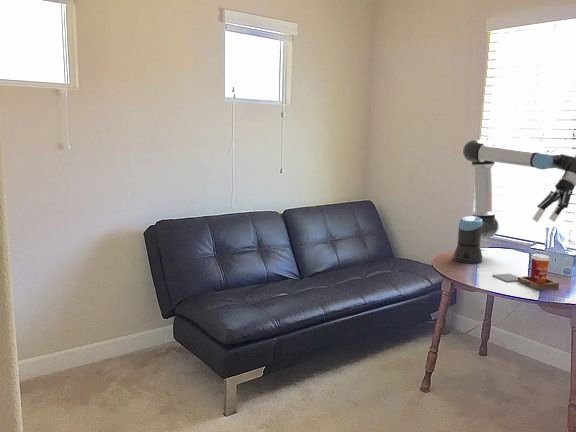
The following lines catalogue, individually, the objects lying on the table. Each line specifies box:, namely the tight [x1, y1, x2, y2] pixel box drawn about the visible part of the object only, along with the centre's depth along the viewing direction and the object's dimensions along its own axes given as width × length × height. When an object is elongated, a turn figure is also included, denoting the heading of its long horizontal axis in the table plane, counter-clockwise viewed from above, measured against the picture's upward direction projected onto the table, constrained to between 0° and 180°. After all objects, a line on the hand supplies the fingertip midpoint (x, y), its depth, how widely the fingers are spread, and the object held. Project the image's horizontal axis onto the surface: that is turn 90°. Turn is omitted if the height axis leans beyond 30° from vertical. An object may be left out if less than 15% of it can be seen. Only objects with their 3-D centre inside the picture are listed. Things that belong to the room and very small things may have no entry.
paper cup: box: [530, 253, 550, 284], centre depth 225 cm, size 8×8×14 cm
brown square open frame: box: [516, 275, 560, 291], centre depth 226 cm, size 12×12×2 cm
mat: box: [491, 273, 519, 283], centre depth 235 cm, size 10×10×1 cm
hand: (543, 220), depth 230 cm, fingers open, 13 cm apart
